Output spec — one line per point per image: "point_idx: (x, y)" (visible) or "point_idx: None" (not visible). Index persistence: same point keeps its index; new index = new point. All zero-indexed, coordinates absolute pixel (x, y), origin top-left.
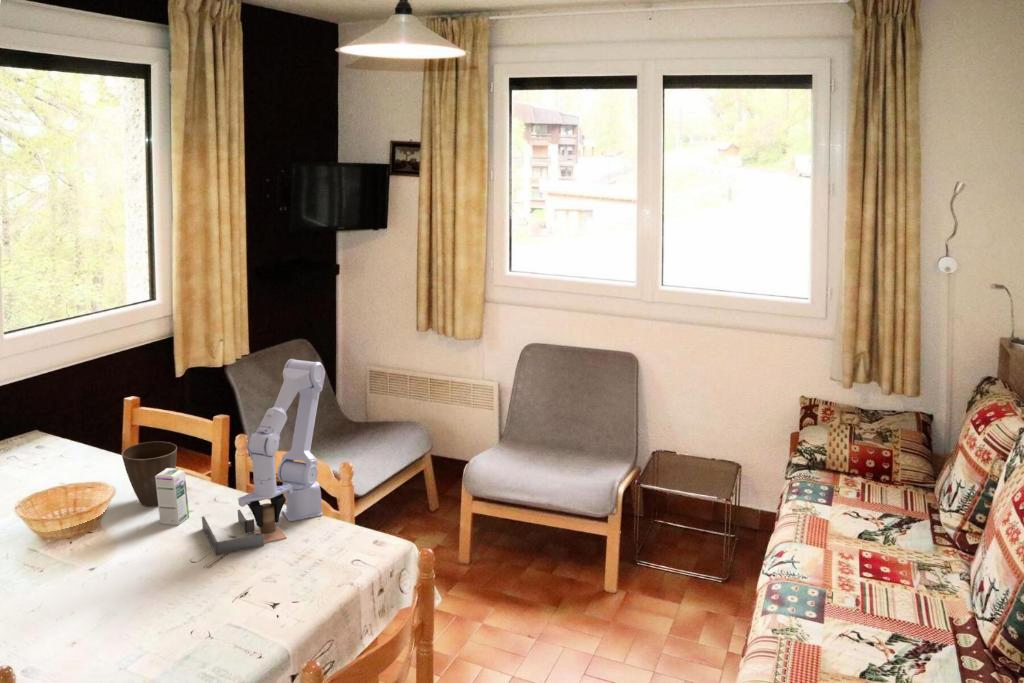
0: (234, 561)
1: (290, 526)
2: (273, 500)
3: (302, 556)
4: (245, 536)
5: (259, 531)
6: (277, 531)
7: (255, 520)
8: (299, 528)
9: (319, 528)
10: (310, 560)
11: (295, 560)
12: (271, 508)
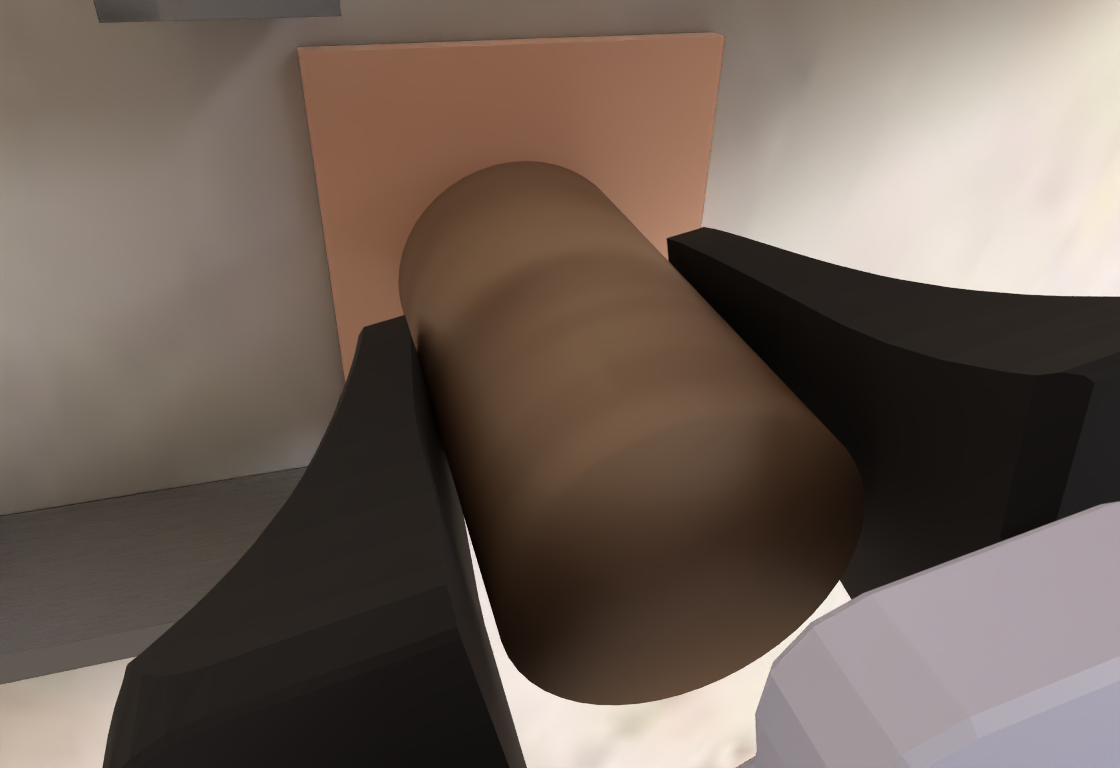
0: (3, 723)
1: (858, 32)
2: (947, 557)
3: (659, 700)
4: (128, 635)
5: (398, 68)
6: (645, 185)
7: (350, 370)
8: (909, 152)
9: (1055, 243)
10: (683, 750)
11: (588, 744)
12: (738, 664)
